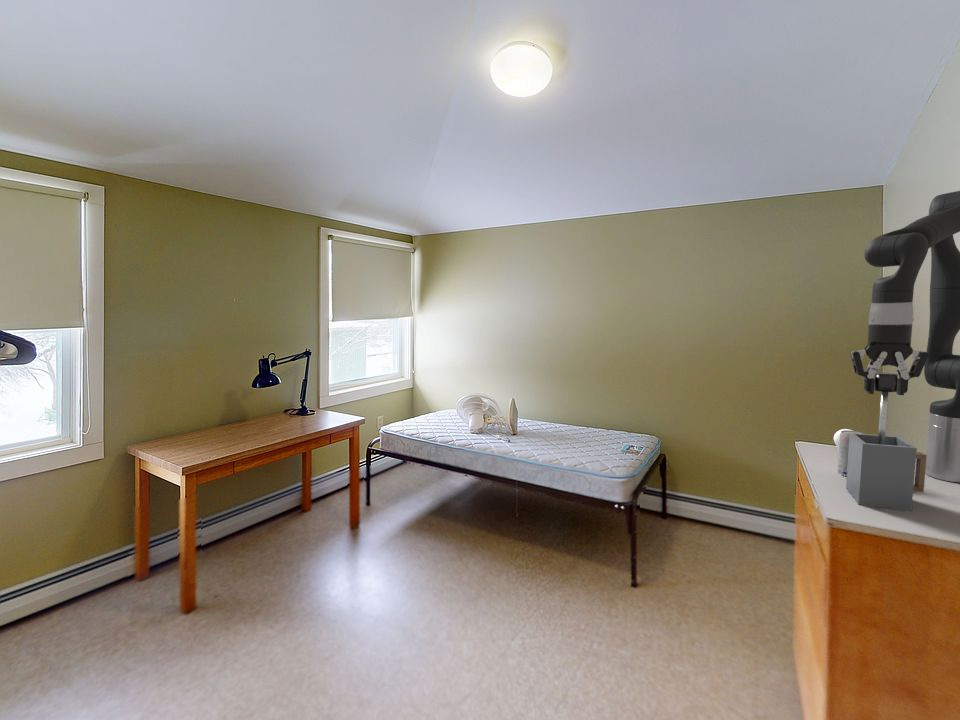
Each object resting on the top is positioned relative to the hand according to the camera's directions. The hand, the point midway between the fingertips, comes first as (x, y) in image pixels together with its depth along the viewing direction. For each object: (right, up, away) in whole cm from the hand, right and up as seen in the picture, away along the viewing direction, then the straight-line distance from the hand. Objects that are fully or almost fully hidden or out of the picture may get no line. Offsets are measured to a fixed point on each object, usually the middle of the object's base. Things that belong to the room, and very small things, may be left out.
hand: (884, 393), depth 105 cm
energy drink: (+7, -24, +19) cm, 32 cm away
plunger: (+1, -16, +2) cm, 16 cm away
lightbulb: (+12, -23, +25) cm, 36 cm away
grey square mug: (+2, -26, +2) cm, 26 cm away
